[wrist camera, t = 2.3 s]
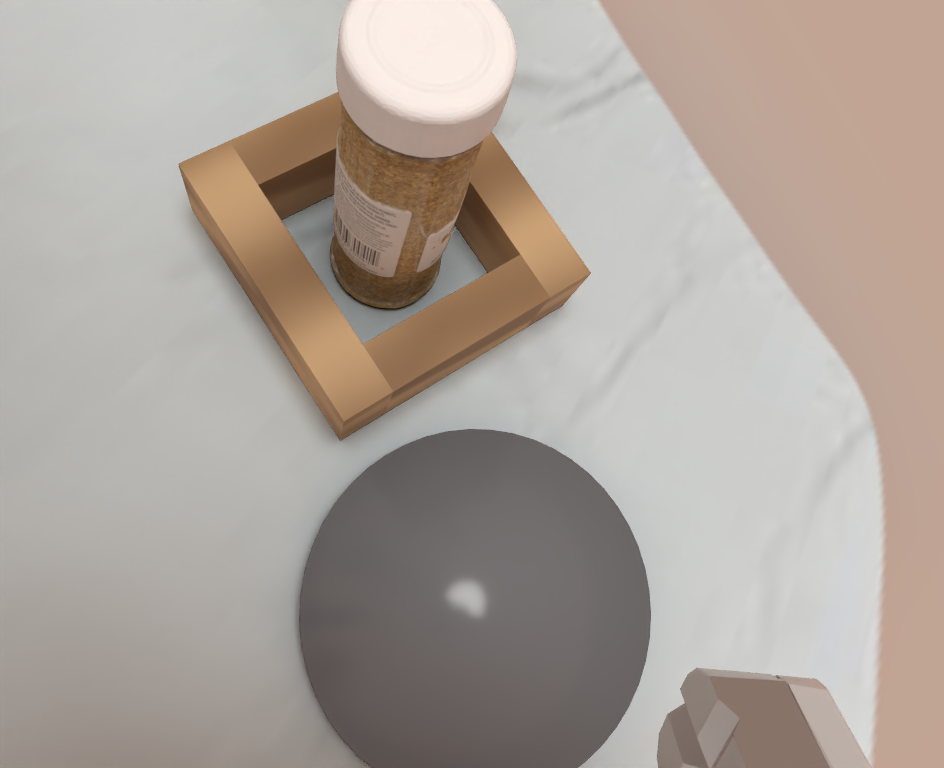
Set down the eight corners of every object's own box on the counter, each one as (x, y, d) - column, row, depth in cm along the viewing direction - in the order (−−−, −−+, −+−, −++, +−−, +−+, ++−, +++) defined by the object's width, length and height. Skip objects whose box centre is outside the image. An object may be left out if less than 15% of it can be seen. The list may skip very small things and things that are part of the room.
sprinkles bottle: (455, 290, 32) (551, 91, 19) (353, 327, 31) (382, 139, 18) (412, 195, 33) (476, -57, 20) (310, 227, 31) (309, -21, 19)
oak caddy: (192, 210, 31) (178, 163, 27) (421, 102, 34) (433, 49, 31) (340, 440, 29) (344, 421, 26) (562, 305, 33) (591, 273, 29)
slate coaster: (230, 555, 28) (227, 554, 27) (517, 375, 32) (524, 368, 31) (428, 880, 26) (432, 891, 25) (702, 648, 30) (715, 650, 29)
